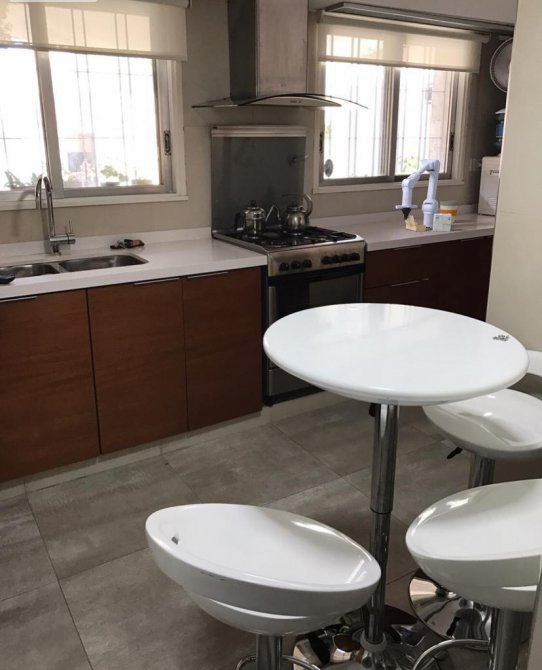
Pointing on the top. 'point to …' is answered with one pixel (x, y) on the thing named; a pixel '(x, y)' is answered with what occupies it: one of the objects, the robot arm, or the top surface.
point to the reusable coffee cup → (449, 208)
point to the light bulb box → (441, 222)
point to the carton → (416, 227)
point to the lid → (410, 220)
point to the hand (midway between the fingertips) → (405, 219)
